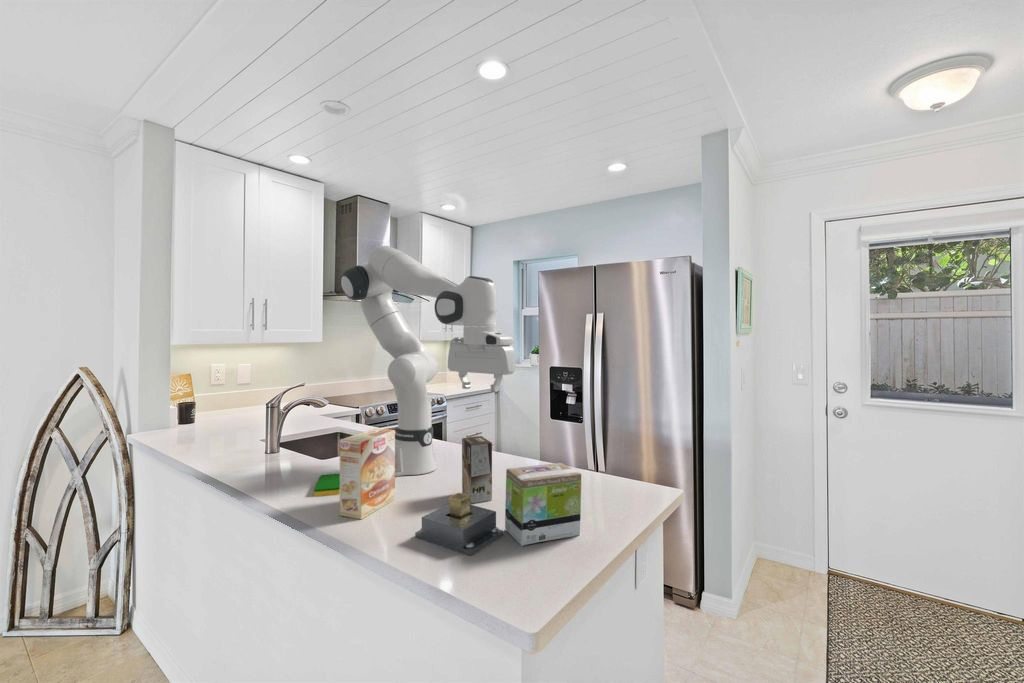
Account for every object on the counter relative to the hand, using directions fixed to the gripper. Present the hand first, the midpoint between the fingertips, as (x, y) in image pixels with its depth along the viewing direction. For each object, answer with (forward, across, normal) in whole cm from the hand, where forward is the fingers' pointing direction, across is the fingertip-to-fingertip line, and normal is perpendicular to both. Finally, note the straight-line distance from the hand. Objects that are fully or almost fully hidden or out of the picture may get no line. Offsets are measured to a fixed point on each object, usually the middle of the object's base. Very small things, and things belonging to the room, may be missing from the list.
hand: (480, 390), depth 125 cm
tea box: (+31, +22, -5) cm, 39 cm away
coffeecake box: (+31, -24, -17) cm, 43 cm away
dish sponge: (+32, -46, -13) cm, 57 cm away
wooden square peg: (+30, +7, -17) cm, 35 cm away
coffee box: (+31, -5, +5) cm, 32 cm away
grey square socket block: (+31, +7, -17) cm, 36 cm away
